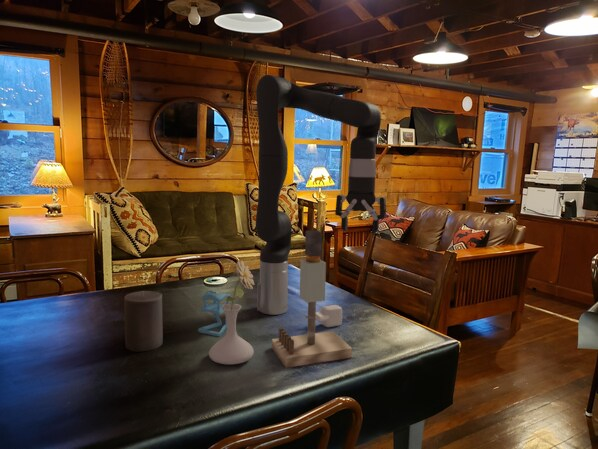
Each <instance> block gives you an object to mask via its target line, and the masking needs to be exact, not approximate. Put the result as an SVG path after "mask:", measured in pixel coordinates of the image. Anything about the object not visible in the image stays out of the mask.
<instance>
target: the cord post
mask: <svg viewBox="0 0 598 449" xmlns="http://www.w3.org/2000/svg"><path fill="white" fill-rule="evenodd" d="M304 237H305V240H304V242H305V243H304V245H305V246H304V248H305V249H304V254H305V259H306V261H308V262H310V263H312V262H319V261H320V260H321V256H322V250H323V248H322V247H323V244H322V243H323V232H322V231H320V230H315V229H311V230H305V235H304ZM307 304H308V305H307V316H308V318H307V334H301V335H300V334H299V335H292V336H290V335H289V334H288V333H287V331H286V330H285V329H284V328H283V327H279V328H278V338H272V339H271V349H272V350H273V352H274V353H275V355H276V356H277V357H278V359H279V360H280V361H281V363H282V364H283V366H284V367H285V369H287V368H293V367H297V366H298V367H300V366H305V365H307V366H308V365H313V364H319V363H326V362H330V361H331V362H332V361H337V360H345V359H350V358H353V348H352V347H351V346H350V345H349V344H348V343H347V342H345V341H344V339H342V338H341V337H340V336H339V335H337V333H335V332H334V331H333V330H331V331H324V332H316V320H315V319H316V312H317V311H316V310H317V309H316V308H317V302H307Z"/></svg>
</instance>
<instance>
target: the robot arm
mask: <svg viewBox="0 0 598 449" xmlns="http://www.w3.org/2000/svg"><path fill="white" fill-rule="evenodd" d="M255 91H256V92H255V93H256V94H255V96H256V100H255V101H256V109H257V111H256V112H257V119H258V121H257V122H258V185H257V186H258V190H257V192H258V193H257V194H258V195H257V205H256V206H257V207H256V215H255V231H256V234H257V237H258V238H259V239H260V240H261V241H263V242H266V243H265V245H264V247H263V249H262V250H261V251H260V253H259V282H257V285H256V286H257V287H256V288H257V290H256V292H257V295H256V299H257V302H256V304H257V306H256V309H257V312H260V313H261V314H264V315H265V314H266V315H269V316H270V315H271V316H274V315H282V314H286V313H287V312H288V291H289V288H288V286H289V285H288V282H289V281H288V278H289V276H288V275H289V270H288V269H289V256H290V252H291V245H292V234H293V233H292V229H293V228H292V227H293V226H292V221H291V218H290V217H289V216H290V215H288V213H286V212H284V211H281V210H279V200H280V196H281V195H280V194H281V191H282V189H283V186H284V184H285V181H286V178H287V174H288V168H289V167H288V165H289V164H288V161H289V159H288V158H289V154H288V147H287V143H286V140H285V138H284V134H283V133H282V130H281V126H280V122H279V119H280V118H279V109H282V108H283V109H285V108H286V109H297V110H303V111H306V112H308V113H311V114H312V115H314V116H315V115H316V116H318V117H321V118H324V119H327V120H331V121H336V122H340V123H343V124H345V125H348V126H351V127H354V128H357V130H356V135H355V137H354V138H352V140H351V141H350V150H349V151H350V152H349V164H348V165H349V166H348V177H347V178H348V179H347V182H348V183H347V195H343V194H337V195H336V203H335V212H334V214H335V216H338V217H340V218H341V220H340V221H341V223H340V225H341V226H340V227H341V229H342V230H343V232H347V231H348V224H349V217H348V216H349V215H350V214H351V212H352V211H354V212H368V214H369V215H370V216H371V218H372V219H373V220H372V224H371V226H372V230H371V232H372V234H376V233H377V232H378V231H379V227H380V226H379V225H380V224H379V223H380V220H382V219H385V218H386V217H387V198H386V197H385V196H382V197H380V196H379V197H378V196H376V194H375V192H376V175H377V171H376V169H377V168H376V166H377V165H376V151H377V150H376V149H377V148H376V143H377V140H378V137H379V132H380V128H381V123H382V115H381V111H380V109H379V107H378V106H377V105H376V104H374V103H371V102H367V101H363V100H356V99H353V98H352V99H351V98H346V97H344V96H341V95H338V94H334V93H330V92H327V91H326V92H325V91H320V90H312V89H308V88H304V87H302V86H299V85H298V84H295V83H294V82H292V81H291V80H290V81H289V80H288V79H286V78H285V77H282V76H281V77H280V76H277V75H273V74H265V75H263V76H262V77H261V78H260V79H259V80H258V82H257V86H256V89H255ZM345 202H347V204H348V206H347V207H346V208H345V210H344V211H343V203H345ZM375 203H377V204H378V206H379V214H378V212H377V210H376V209H375V207H374V204H375Z"/></svg>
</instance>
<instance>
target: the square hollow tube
mask: <svg viewBox="0 0 598 449" xmlns="http://www.w3.org/2000/svg"><path fill="white" fill-rule="evenodd" d="M299 264H300V266H299V267H300V270H299V278H300V279H299V297H300V298H301V299H302V300H303V301H305V302H306V303H308V302H316V303H317V302H325V300H326V274H327V273H326V271H327V262H326V261H324V260H323V259H320V261H319V262H312V263H310V262H308V261H306V258H304V259H300V263H299Z"/></svg>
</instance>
